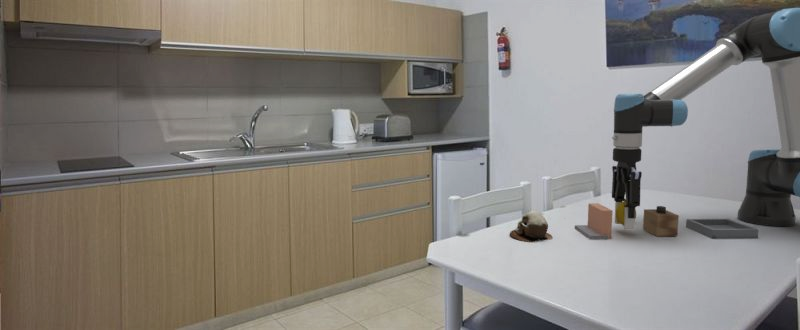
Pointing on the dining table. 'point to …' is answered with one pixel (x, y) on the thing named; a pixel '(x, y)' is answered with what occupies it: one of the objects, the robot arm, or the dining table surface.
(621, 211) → the lemon
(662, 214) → the wooden block with knob
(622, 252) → the dining table surface
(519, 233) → the skull
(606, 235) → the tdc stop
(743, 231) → the tray
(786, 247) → the dining table surface
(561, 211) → the dining table surface
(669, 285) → the dining table surface
